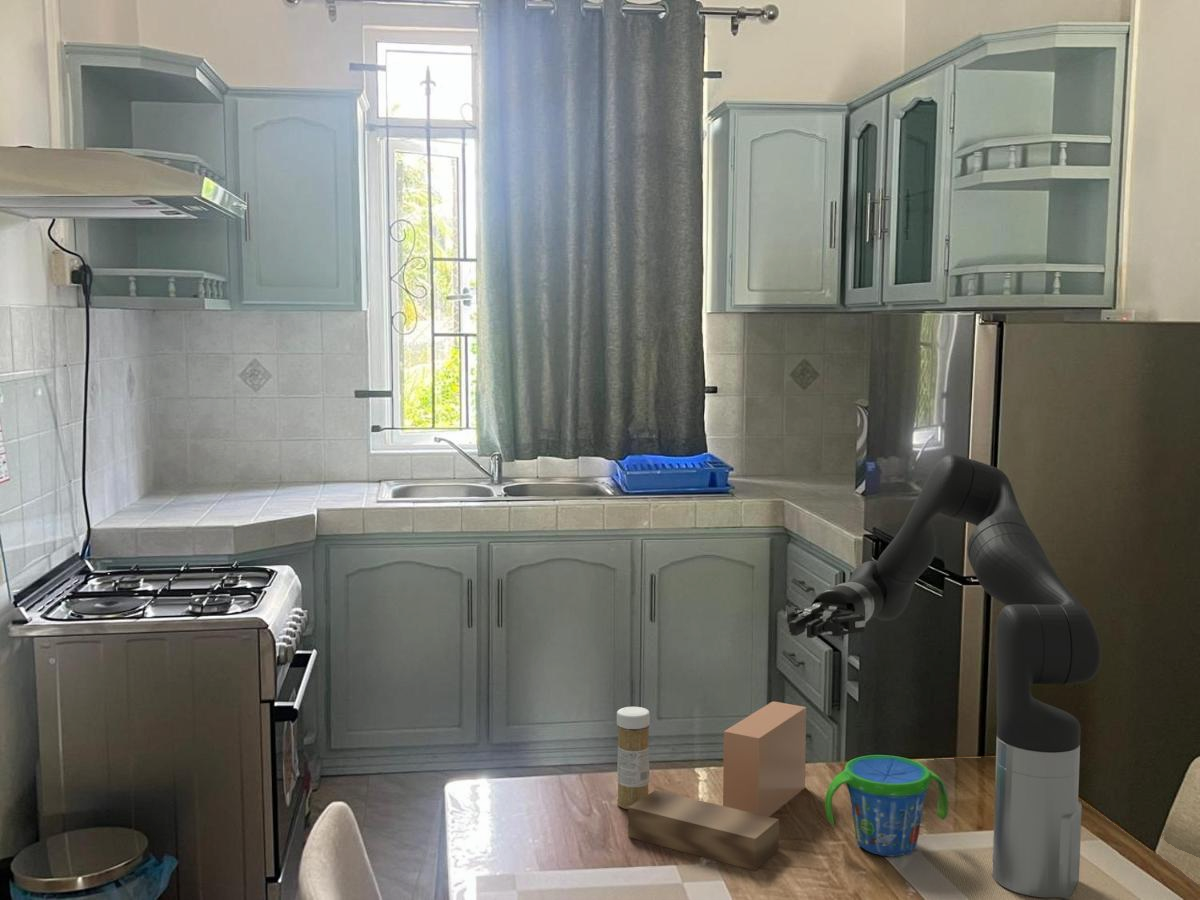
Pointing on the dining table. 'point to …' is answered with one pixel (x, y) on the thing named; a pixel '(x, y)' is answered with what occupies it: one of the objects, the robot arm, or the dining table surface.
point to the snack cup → (886, 801)
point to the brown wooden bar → (704, 829)
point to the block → (765, 759)
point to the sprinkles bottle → (632, 755)
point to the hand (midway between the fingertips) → (801, 630)
